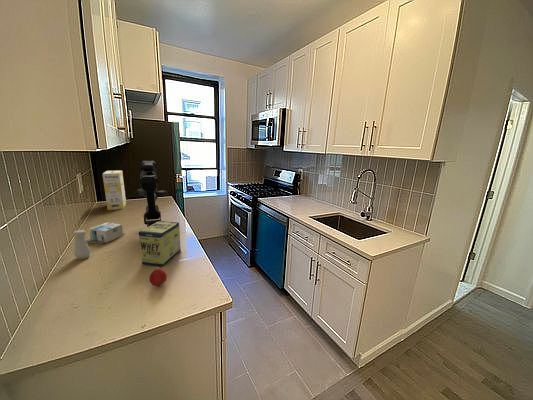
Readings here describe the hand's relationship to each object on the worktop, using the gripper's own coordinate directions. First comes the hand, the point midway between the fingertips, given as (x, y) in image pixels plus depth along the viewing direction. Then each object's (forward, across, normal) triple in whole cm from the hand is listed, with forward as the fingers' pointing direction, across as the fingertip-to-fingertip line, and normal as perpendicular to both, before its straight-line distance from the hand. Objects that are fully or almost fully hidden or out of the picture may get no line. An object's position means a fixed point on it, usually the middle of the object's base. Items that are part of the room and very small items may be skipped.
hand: (152, 206), depth 141 cm
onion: (+13, +45, -53) cm, 71 cm away
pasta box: (+13, -57, +27) cm, 64 cm away
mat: (+13, -12, -24) cm, 30 cm away
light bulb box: (+10, -5, -24) cm, 26 cm away
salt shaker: (+13, -2, -44) cm, 46 cm away
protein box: (+13, +32, -34) cm, 49 cm away
